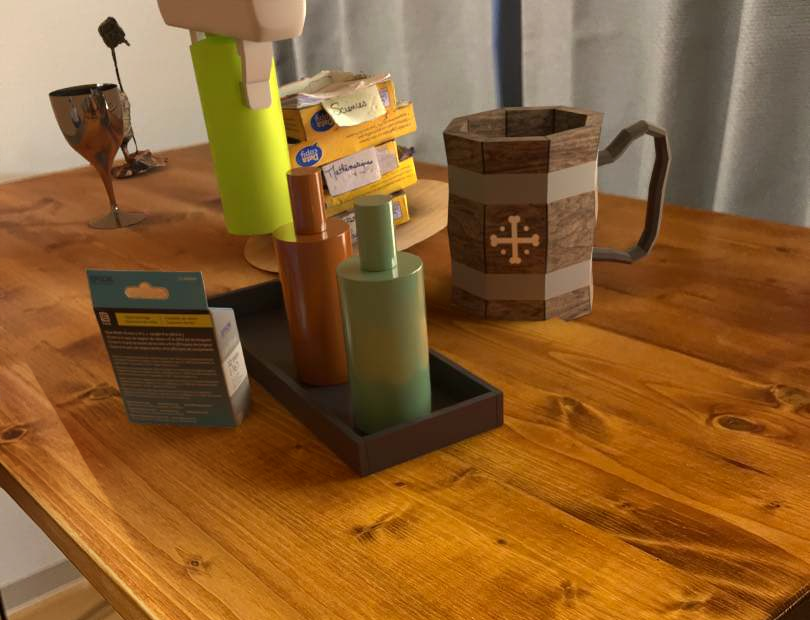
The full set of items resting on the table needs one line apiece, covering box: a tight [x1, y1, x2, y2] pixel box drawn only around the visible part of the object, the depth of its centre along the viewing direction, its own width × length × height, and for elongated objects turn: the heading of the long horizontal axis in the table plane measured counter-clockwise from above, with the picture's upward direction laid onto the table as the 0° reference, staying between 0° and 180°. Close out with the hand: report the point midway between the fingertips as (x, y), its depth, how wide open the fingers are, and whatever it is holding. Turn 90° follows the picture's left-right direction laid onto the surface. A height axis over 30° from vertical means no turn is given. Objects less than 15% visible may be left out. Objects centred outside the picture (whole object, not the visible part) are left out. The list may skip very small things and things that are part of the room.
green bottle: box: [335, 195, 432, 435], centre depth 58 cm, size 6×6×15 cm
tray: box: [206, 277, 505, 479], centre depth 69 cm, size 11×31×3 cm, turn 31°
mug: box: [442, 104, 673, 323], centre depth 76 cm, size 20×14×15 cm
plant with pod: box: [89, 15, 169, 178], centre depth 126 cm, size 8×11×20 cm
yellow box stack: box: [243, 68, 449, 273], centre depth 93 cm, size 25×25×17 cm
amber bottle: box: [272, 166, 353, 386], centre depth 65 cm, size 6×6×15 cm
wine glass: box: [48, 82, 147, 230], centre depth 107 cm, size 8×8×15 cm
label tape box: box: [84, 267, 255, 429], centre depth 62 cm, size 9×4×12 cm, turn 77°
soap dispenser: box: [188, 33, 293, 236], centre depth 65 cm, size 6×7×20 cm
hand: (239, 102), depth 66 cm, fingers closed on soap dispenser, 6 cm apart
